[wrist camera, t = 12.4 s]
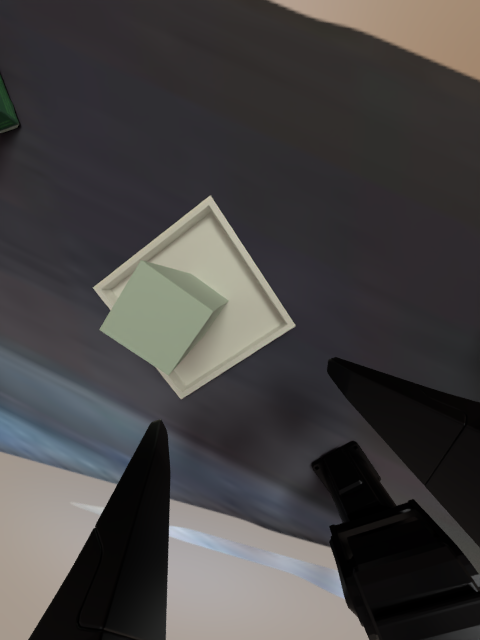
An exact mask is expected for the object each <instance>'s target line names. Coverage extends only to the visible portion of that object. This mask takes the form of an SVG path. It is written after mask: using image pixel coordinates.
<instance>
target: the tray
mask: <svg viewBox="0 0 480 640" xmlns="http://www.w3.org/2000/svg"><path fill="white" fill-rule="evenodd" d="M141 260H143V261H147V262H150V263H154V264H158V265H161V266H165V267H169V268H172V269H176V270H179V271H183V272H187V273H190V274H192V275H194V276H195V277H196V278H198V279H199V280H201V281H202V282H203V283H205V284H206V285H208V286H209V287H210V288H212V289H213V290H215V291H216V292H217V293H219V294H220V295H222V296H223V297H224V298H226V299H227V300H229V301H228V302H227V304H226V305H225V307H224V308H223V309H222V311H221V312H220V314H219V315H218V317H217V318H216V319H215V321H214V322H213V324H212V325H211V326H210V328H209V329H208V331H207V332H206V334H205V335H204V336H203V337H202V339H201V340H200V341H199V342H198V343H197V344H196V345H195V346H194V348H193V349H192V350H191V351H190V352H189V353H188V354H187V356H186V357H185V358H184V359H183V360H182V361H181V362H180V363H179V365H178V366H177V367H176V368H175V369H174V370H173V371H172V372H171V374H170V375H169V376H168V375H167V374H165V373H164V372H162V371H161V370H159V369H158V368H157V370H158V371H159V372H160V374H161V375H162V376H163V377H164V379H165V380H166V381H167V382H168V384H169V385H170V386H171V388H172V389H173V390H174V391H175V393H176V394H177V395H178V396H179V398H180V399H182V398H184V397H186V396H187V395H189V394H190V393H192V392H193V391H195V390H197V389H198V388H200V387H201V386H203V385H204V384H206V383H207V382H209V381H211V380H212V379H214V378H215V377H217V376H218V375H220V374H221V373H223V372H225V371H226V370H228V369H229V368H231V367H232V366H234V365H235V364H237V363H239V362H240V361H242V360H243V359H245V358H246V357H248V356H249V355H251V354H253V353H254V352H256V351H257V350H259V349H260V348H262V347H263V346H265V345H267V344H268V343H270V342H271V341H273V340H274V339H276V338H277V337H279V336H281V335H282V334H284V333H285V332H287V331H288V330H290V329H292V328H293V327H295V324H294V323H293V321H292V320H291V318H290V316H289V315H288V313H287V312H286V310H285V309H284V307H283V306H282V304H281V303H280V301H279V300H278V298H277V297H276V295H275V294H274V292H273V290H272V289H271V287H270V286H269V284H268V283H267V281H266V280H265V278H264V277H263V275H262V274H261V272H260V271H259V269H258V268H257V266H256V265H255V263H254V261H253V260H252V258H251V257H250V255H249V254H248V252H247V251H246V249H245V248H244V246H243V245H242V243H241V242H240V240H239V239H238V237H237V235H236V234H235V232H234V231H233V229H232V228H231V226H230V225H229V223H228V222H227V220H226V219H225V217H224V216H223V214H222V213H221V211H220V209H219V208H218V206H217V205H216V203H215V202H214V200H213V199H212V197H211V196H209V197H208V198H207V199H205V200H204V201H203V202H201V203H200V204H199V205H198V206H196V207H195V208H194V209H193V210H191V211H190V212H189V213H187V214H186V215H185V216H184V217H182V218H181V219H180V220H179V221H177V222H176V223H175V224H173V225H172V226H171V227H170V228H168V229H167V230H166V231H165V232H163V233H162V234H161V235H159V236H158V237H157V238H156V239H154V240H153V241H152V242H151V243H149V244H148V245H147V246H145V247H144V248H143V249H142V250H140V251H139V252H138V253H137V254H135V255H134V256H133V257H131V258H130V259H129V260H128V261H126V262H125V263H124V264H123V265H121V266H120V267H119V268H117V269H116V270H115V271H114V272H112V273H111V274H110V275H109V276H107V277H106V278H105V279H103V280H102V281H101V282H100V283H98V284H97V285H96V286H95V287H93V289H94V290H95V291H96V292H97V294H98V295H99V296H100V297H101V299H102V300H103V301H104V303H105V304H106V305H107V306H108V308H109V309H110V310H111V309H112V308H113V306H114V304H115V303H116V301H117V299H118V298H119V296H120V294H121V293H122V291H123V289H124V288H125V286H126V284H127V282H128V281H129V279H130V277H131V276H132V274H133V272H134V271H135V269H136V267H137V266H138V264H139V262H140V261H141Z"/></svg>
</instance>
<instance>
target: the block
mask: <svg viewBox="0 0 480 640" xmlns="http://www.w3.org/2000/svg"><path fill="white" fill-rule="evenodd" d="M228 301H229V300H227V299H226V298H224V297H223V296H222V295H220V294H219V293H217V292H216V291H215V290H213V289H212V288H210V287H209V286H208V285H206V284H205V283H203V282H202V281H201V280H199V279H198V278H196V277H195V276H194V275H192V274H190V273H187V272H183V271H179V270H176V269H172V268H169V267H165V266H161V265H158V264H154V263H150V262H147V261H143V260H141V261H140V262H139V264H138V266H137V267H136V269H135V271H134V272H133V274H132V276H131V277H130V279H129V281H128V282H127V284H126V286H125V288H124V289H123V291H122V293H121V294H120V296H119V298H118V299H117V301H116V303H115V304H114V306H113V308H112V309H111V311H110V313H109V314H108V316H107V318H106V319H105V321H104V323H103V325H102V326H101V328H100V330H101V331H102V332H104V333H105V334H107V335H108V336H110V337H111V338H113V339H114V340H116V341H117V342H119V343H120V344H122V345H123V346H125V347H126V348H128V349H129V350H131V351H132V352H134V353H135V354H137V355H138V356H140V357H141V358H143V359H144V360H146V361H147V362H149V363H150V364H152V365H153V366H155V367H156V368H158V369H159V370H161V371H162V372H164V373H165V374H167V375H168V376H169V375H170V374H171V372H172V371H173V370H174V369H175V368H176V367H177V366H178V365H179V363H180V362H181V361H182V360H183V359H184V358H185V357H186V356H187V354H188V353H189V352H190V351H191V350H192V349H193V348H194V346H195V345H196V344H197V343H198V342H199V341H200V340H201V339H202V337H203V336H204V335H205V334H206V332H207V331H208V329H209V328H210V326H211V325H212V324H213V322H214V321H215V319H216V318H217V317H218V315H219V314H220V312H221V311H222V309H223V308H224V307H225V305H226V304H227V302H228Z"/></svg>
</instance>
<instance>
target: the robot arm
mask: <svg viewBox="0 0 480 640" xmlns="http://www.w3.org/2000/svg"><path fill="white" fill-rule="evenodd" d="M327 372H328V374H329V376H330V377H331V379H332V380H333V381H334V383H335V384H336V385H337V387H338V388H339V389H340V391H341V392H342V393H343V395H344V396H345V397H346V398H347V400H348V401H349V402H350V403H351V404H352V405H353V406H354V407H355V409H356V410H357V411H358V412H359V413H360V414H361V415H362V416H363V418H364V419H365V420H366V421H367V422H368V423H369V424H370V425H371V426H372V428H373V429H374V430H375V431H376V432H377V433H378V434H379V435H380V436H381V438H382V439H383V440H384V441H385V442H386V443H387V444H388V445H389V447H390V448H391V449H392V450H393V451H394V452H395V453H396V454H397V455H398V457H399V458H400V459H401V460H402V461H403V462H404V463H405V464H406V466H407V467H408V468H409V469H410V470H411V471H412V472H413V473H414V474H415V476H416V477H417V478H418V479H419V480H420V481H421V482H422V483H423V484H424V485H425V487H426V488H427V489H428V490H429V491H430V492H431V494H432V495H433V496H434V497H435V498H436V499H437V500H438V501H439V502H440V504H441V505H442V506H443V507H444V508H445V509H446V510H447V511H448V513H449V514H450V515H451V516H452V517H453V518H454V519H455V520H456V521H457V523H458V524H459V525H460V526H461V527H462V528H463V529H464V530H465V532H466V533H467V534H468V535H469V536H470V537H471V538H472V539H473V540H474V542H475V543H476V544H477V545H478V546H479V547H480V403H479V402H476V401H472V400H469V399H465V398H461V397H458V396H454V395H451V394H447V393H444V392H441V391H437V390H434V389H431V388H428V387H425V386H422V385H419V384H415V383H413V382H410V381H407V380H404V379H401V378H398V377H395V376H392V375H388V374H385V373H382V372H379V371H376V370H373V369H370V368H367V367H364V366H361V365H358V364H355V363H352V362H349V361H346V360H343V359H340V358H337V357H334V358H331V359H329V360H328V367H327ZM316 466H317V467H316ZM312 468H313V470H314V471H315V473H316V474H317V476H318V477H319V478H320V480H321V481H322V482H323V484H324V485H325V487H326V488H327V489H328V491H329V492H330V494H331V495H332V498H333V500H334V503H335V505H336V507H337V510H338V512H339V515H340V517H341V519H342V522H343V523H341V524H338V525H331V526H329V527H330V530H331V533H332V536H331V540H330V541H329V543H330V546H331V549H332V552H333V555H334V558H335V561H336V564H337V568H338V572H339V576H340V581H341V585H342V589H343V593H344V597H345V600H346V603H347V606H348V608H349V609H350V610H351V611H352V612H353V613H354V614H355V615H356V616H357V617H358V618H359V621H360V623H361V625H362V626H364V628H365V631H366V633H367V635H368V638H369V640H480V575H479V574H478V572H477V571H476V570H475V568H474V567H473V565H472V564H471V563H470V561H469V560H468V559H467V558H466V556H465V555H464V554H463V552H462V551H461V550H460V549H459V548H458V546H457V545H456V544H455V543H454V542H453V541H452V540H451V539H450V537H449V536H448V535H447V534H446V533H445V532H444V531H443V530H442V529H441V528H440V527H439V526H438V525H437V524H436V523H435V522H434V520H433V519H432V518H431V517H430V516H429V515H428V514H427V513H426V512H425V511H424V510H423V509H422V508H421V507H420V506H419V505H418V503H417V502H416V501H415V500H414V499H412V500H409V501H408V502H407V503H404V504H401V505H398V506H396V504H395V503H394V501H393V500H392V498H391V497H390V496H389V494H388V493H387V491H386V490H385V488H384V487H383V485H382V484H381V483H380V480H381V478H380V476H379V475H378V473H377V472H376V470H375V469H374V467H373V466H372V464H371V463H370V461H369V460H368V458H367V457H366V455H365V454H364V452H363V451H362V449H361V448H360V446H359V445H358V443H357V442H355V441H353V442H351V443H349V444H347V445H345V446H343V447H341V448H340V449H338V450H336V451H334V452H332V453H330V454H328V455H326V456H325V457H323V458H321V459H319V460H317V461H315V462H313V463H312ZM169 506H170V459H169V446H168V434H167V430H166V428H165V426H164V424H163V422H162V420H156V421H154V422H152V423H151V424H150V425H149V427H148V429H147V431H146V433H145V435H144V436H143V438H142V440H141V442H140V444H139V446H138V447H137V449H136V451H135V453H134V455H133V457H132V459H131V460H130V462H129V464H128V466H127V468H126V470H125V471H124V473H123V475H122V477H121V479H120V481H119V483H118V484H117V486H116V488H115V490H114V492H113V494H112V495H111V497H110V499H109V501H108V503H107V505H106V507H105V508H104V510H103V512H102V514H101V516H100V518H99V519H98V521H97V523H96V526H95V527H96V528H94V529H93V531H92V532H91V534H90V536H89V538H88V540H87V541H86V543H85V545H84V547H83V549H82V551H81V552H80V554H79V556H78V558H77V559H76V561H75V563H74V565H73V567H72V568H71V570H70V572H69V573H68V575H67V577H66V579H65V580H64V582H63V584H62V585H61V587H60V589H59V590H58V592H57V594H56V595H55V597H54V599H53V600H52V602H51V604H50V605H49V607H48V608H47V610H46V612H45V613H44V615H43V617H42V618H41V620H40V621H39V623H38V625H37V627H36V628H35V630H34V631H33V633H32V635H31V636H30V638H29V639H28V640H166V608H167V575H168V542H169Z"/></svg>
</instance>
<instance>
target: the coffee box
mask: <svg viewBox="0 0 480 640" xmlns="http://www.w3.org/2000/svg"><path fill="white" fill-rule="evenodd" d="M18 125H19V121H18V119H17V117H16V114H15V110H14V106H13V104H12V102H11V100H10V99H9V96H8V94H7V91H6V88H5V85H4V83H3V80H2V77H1V75H0V133H3V132H6V131H9V130H12V129H15V128H18Z"/></svg>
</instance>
